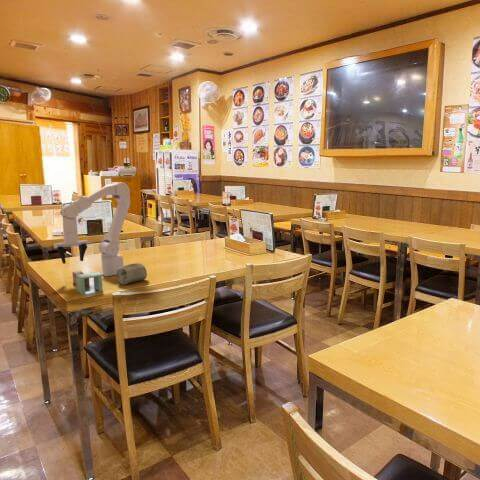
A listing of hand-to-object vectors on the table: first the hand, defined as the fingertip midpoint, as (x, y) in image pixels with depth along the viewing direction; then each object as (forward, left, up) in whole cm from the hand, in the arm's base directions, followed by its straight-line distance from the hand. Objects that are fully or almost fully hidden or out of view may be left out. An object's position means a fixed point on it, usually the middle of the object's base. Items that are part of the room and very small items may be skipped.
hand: (72, 262), depth 182 cm
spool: (-19, +20, -9) cm, 29 cm away
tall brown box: (0, +10, -9) cm, 13 cm away
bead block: (0, +22, -8) cm, 23 cm away
